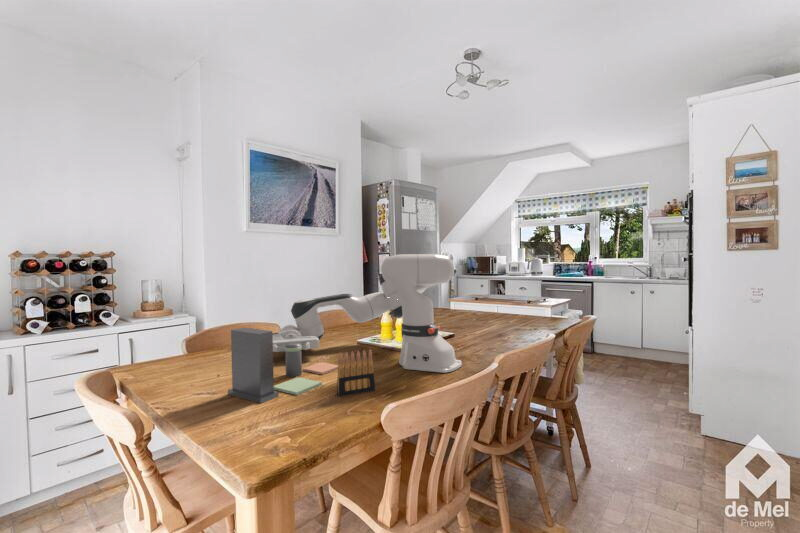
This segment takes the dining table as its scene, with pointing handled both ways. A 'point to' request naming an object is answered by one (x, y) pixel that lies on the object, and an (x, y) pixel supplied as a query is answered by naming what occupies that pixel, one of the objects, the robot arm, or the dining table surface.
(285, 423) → the dining table surface
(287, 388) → the sage green pad
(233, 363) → the block
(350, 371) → the ammunition clip
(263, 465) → the dining table surface
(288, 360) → the cartridge
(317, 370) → the terracotta pad
